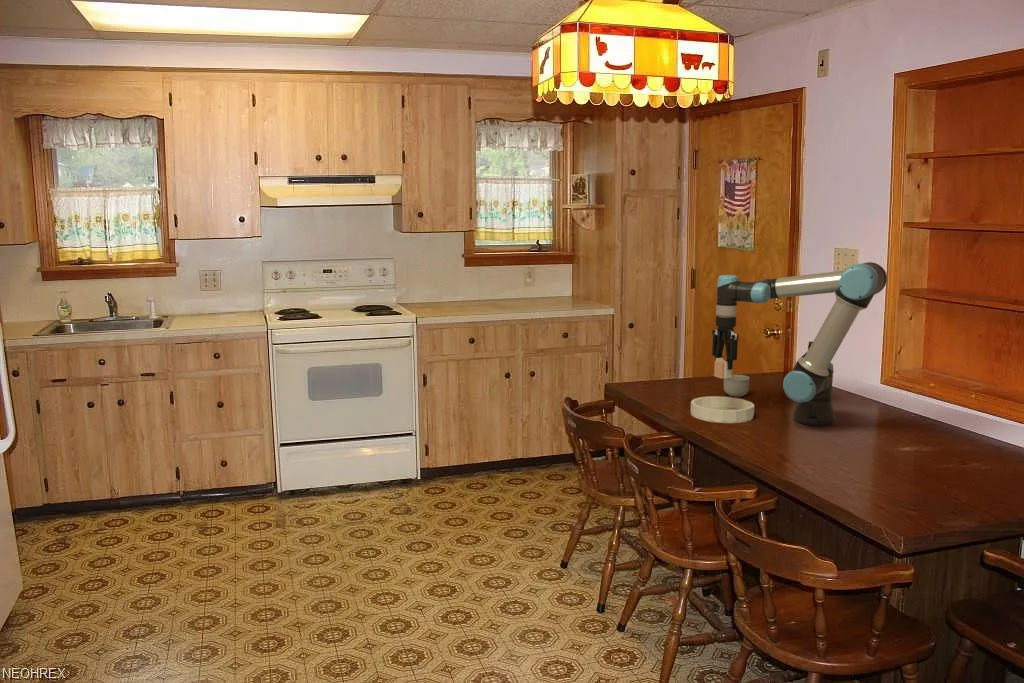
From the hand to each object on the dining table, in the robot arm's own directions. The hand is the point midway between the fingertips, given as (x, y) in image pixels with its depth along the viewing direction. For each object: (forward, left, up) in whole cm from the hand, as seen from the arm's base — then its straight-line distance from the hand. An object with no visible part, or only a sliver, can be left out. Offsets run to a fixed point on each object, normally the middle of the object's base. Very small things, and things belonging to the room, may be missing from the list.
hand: (723, 376), depth 334 cm
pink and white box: (0, 0, 0) cm, 0 cm away
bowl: (0, 0, -16) cm, 16 cm away
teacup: (+28, -27, -16) cm, 42 cm away
